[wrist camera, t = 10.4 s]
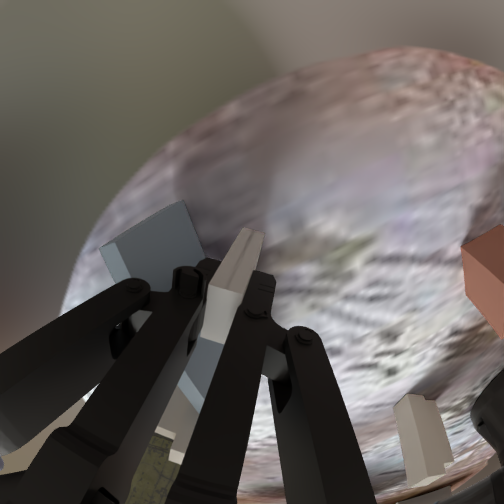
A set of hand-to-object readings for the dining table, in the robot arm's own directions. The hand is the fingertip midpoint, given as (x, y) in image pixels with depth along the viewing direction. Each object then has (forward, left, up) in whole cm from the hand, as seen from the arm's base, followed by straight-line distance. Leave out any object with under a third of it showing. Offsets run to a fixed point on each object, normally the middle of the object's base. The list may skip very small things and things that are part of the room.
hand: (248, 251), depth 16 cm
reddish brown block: (-17, -5, -2) cm, 18 cm away
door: (+1, +5, -1) cm, 5 cm away
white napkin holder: (-64, +52, -2) cm, 83 cm away
